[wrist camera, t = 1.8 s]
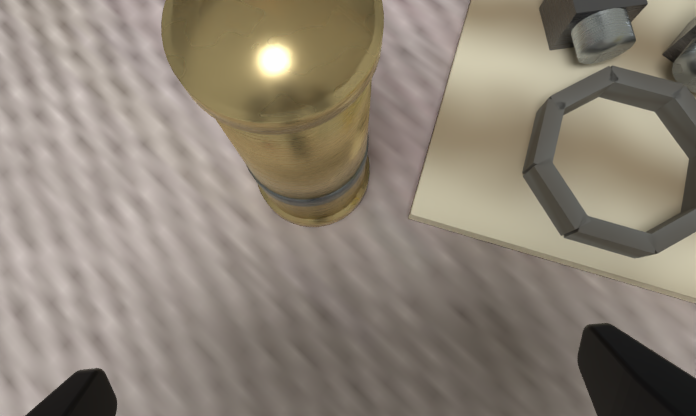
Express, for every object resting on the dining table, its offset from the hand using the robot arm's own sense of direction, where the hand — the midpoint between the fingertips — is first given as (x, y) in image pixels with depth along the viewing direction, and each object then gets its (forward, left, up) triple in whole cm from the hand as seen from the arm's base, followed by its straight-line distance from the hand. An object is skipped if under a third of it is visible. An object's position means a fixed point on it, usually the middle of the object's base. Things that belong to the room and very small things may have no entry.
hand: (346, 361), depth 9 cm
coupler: (+3, +8, -13) cm, 16 cm away
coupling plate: (+19, +4, -13) cm, 24 cm away
